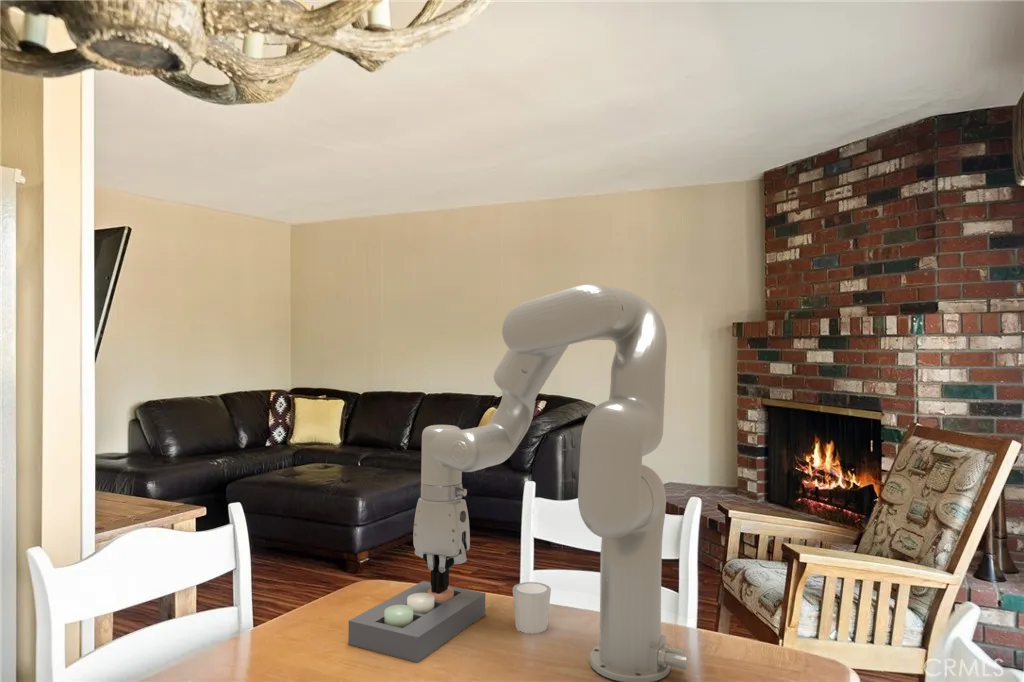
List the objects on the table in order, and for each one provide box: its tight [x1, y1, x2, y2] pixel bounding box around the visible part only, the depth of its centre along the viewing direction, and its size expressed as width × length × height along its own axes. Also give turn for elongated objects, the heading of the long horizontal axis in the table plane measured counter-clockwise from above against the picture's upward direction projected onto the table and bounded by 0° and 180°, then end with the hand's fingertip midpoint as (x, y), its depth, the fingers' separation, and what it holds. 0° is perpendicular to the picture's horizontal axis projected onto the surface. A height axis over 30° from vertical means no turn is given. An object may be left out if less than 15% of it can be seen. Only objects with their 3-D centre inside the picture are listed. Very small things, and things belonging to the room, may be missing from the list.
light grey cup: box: [512, 581, 552, 635], centre depth 123 cm, size 7×7×7 cm
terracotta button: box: [428, 587, 454, 602], centre depth 127 cm, size 5×5×3 cm
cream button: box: [407, 593, 434, 614], centre depth 121 cm, size 5×5×3 cm
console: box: [347, 580, 486, 664], centre depth 121 cm, size 14×22×4 cm, turn 153°
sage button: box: [384, 605, 413, 628], centre depth 116 cm, size 5×5×3 cm
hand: (439, 590), depth 127 cm, fingers closed
